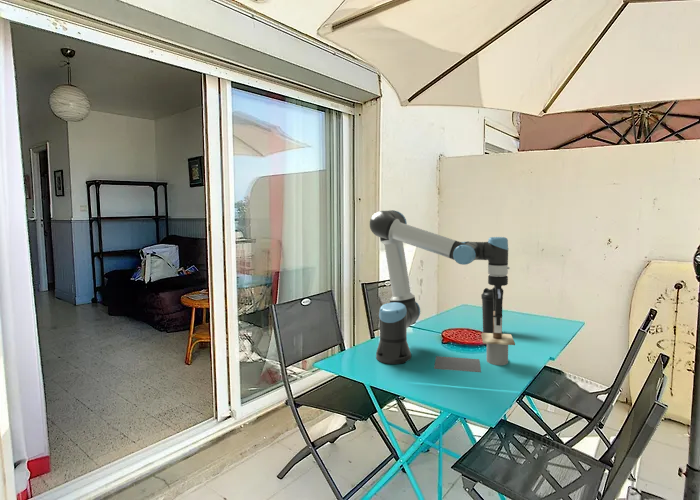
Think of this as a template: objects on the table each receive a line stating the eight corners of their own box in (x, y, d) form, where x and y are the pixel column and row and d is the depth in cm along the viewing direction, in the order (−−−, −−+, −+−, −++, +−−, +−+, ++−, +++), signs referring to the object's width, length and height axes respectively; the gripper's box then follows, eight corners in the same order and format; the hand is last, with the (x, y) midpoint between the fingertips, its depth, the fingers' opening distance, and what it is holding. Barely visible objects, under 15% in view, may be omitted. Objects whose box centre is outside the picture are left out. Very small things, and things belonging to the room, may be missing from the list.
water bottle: (499, 336, 199) (500, 291, 196) (479, 334, 204) (479, 289, 202) (503, 331, 207) (504, 288, 205) (483, 328, 213) (484, 286, 210)
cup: (509, 367, 161) (509, 343, 160) (488, 366, 162) (488, 342, 161) (505, 359, 169) (505, 336, 168) (485, 358, 170) (485, 336, 170)
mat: (434, 370, 160) (434, 368, 160) (435, 357, 173) (435, 356, 173) (481, 373, 155) (481, 372, 155) (479, 360, 168) (479, 359, 168)
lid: (483, 343, 160) (483, 314, 159) (481, 334, 172) (481, 307, 171) (515, 345, 157) (515, 316, 156) (511, 336, 169) (511, 308, 168)
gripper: (510, 278, 153) (509, 337, 155) (505, 271, 169) (504, 325, 171) (489, 278, 155) (489, 336, 157) (486, 271, 171) (486, 324, 173)
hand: (497, 330), depth 164 cm, fingers open, 4 cm apart
